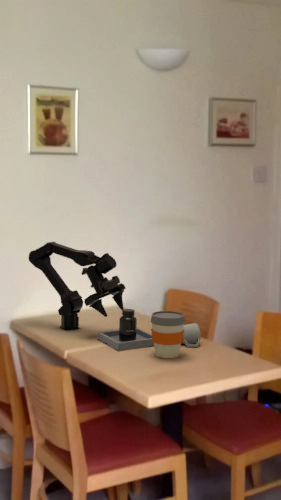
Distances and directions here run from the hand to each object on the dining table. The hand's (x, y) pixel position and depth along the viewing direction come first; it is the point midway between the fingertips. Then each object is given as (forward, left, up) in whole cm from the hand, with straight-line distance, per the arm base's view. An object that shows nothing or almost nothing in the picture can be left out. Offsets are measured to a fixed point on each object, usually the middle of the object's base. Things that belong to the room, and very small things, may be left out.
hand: (114, 313), depth 258 cm
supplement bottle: (0, -10, -9) cm, 14 cm away
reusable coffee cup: (+6, -32, -10) cm, 34 cm away
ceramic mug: (+21, -24, -10) cm, 33 cm away
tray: (+1, -11, -9) cm, 14 cm away
